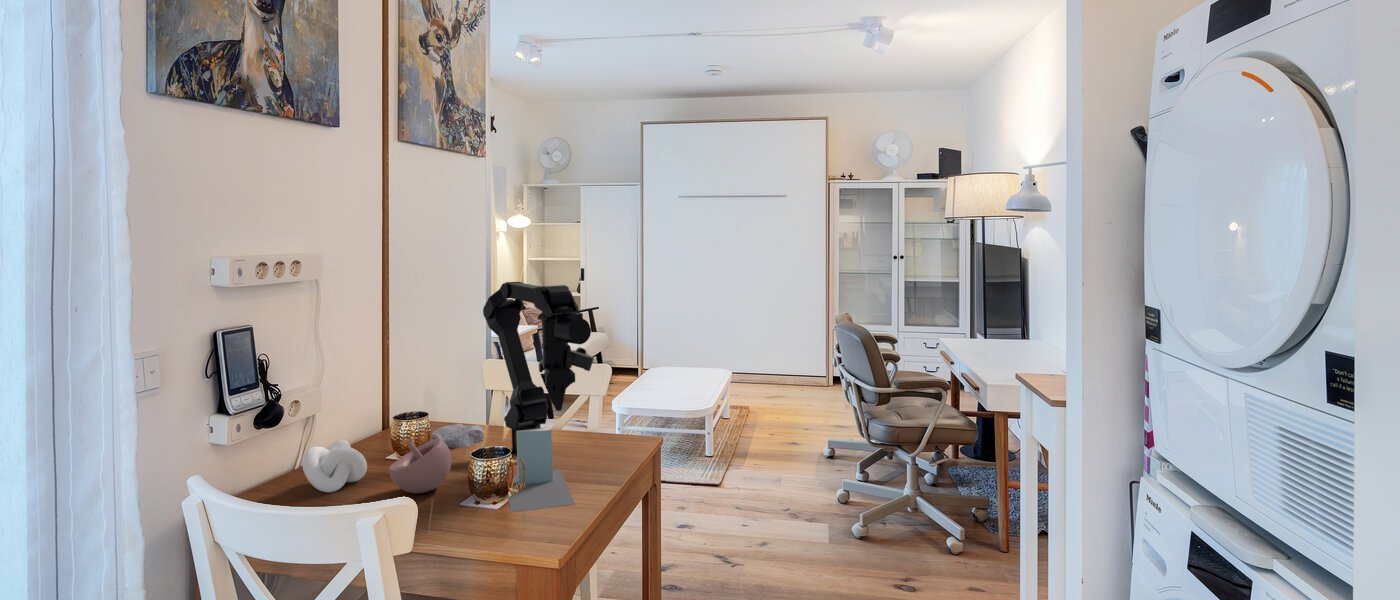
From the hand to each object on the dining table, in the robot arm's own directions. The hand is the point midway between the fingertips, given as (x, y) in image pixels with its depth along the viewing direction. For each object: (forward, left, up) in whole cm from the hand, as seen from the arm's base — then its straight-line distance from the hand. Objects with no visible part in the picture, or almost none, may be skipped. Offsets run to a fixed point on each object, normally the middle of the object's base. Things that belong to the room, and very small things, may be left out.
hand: (557, 407), depth 160 cm
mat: (+4, -18, -13) cm, 23 cm away
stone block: (-34, +12, -14) cm, 38 cm away
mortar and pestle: (-20, -23, -13) cm, 33 cm away
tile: (+1, -14, -13) cm, 19 cm away
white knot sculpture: (-41, -23, -13) cm, 49 cm away
